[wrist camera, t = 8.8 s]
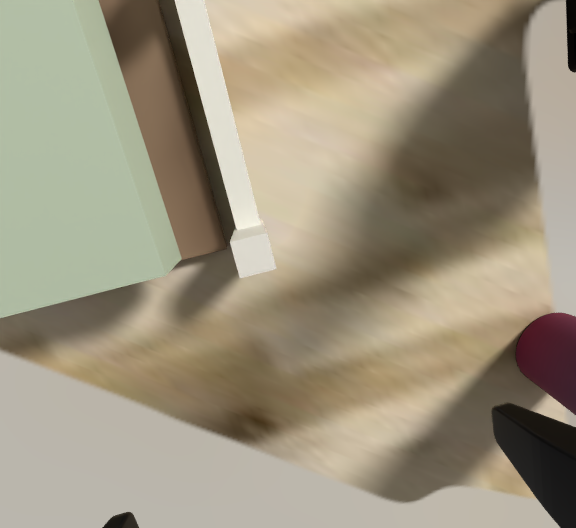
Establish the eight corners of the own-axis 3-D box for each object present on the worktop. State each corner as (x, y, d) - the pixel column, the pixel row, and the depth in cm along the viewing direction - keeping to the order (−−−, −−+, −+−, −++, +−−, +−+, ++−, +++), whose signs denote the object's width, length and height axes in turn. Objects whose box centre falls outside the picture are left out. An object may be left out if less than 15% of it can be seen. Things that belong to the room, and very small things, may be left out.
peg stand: (153, -18, 16) (123, -82, 12) (227, 245, 19) (222, 260, 15) (-63, 26, 16) (-166, -26, 12) (48, 290, 19) (-4, 317, 15)
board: (181, 258, 15) (165, 275, 12) (34, 296, 15) (-18, 322, 12) (80, -57, 12) (28, -131, 9) (-105, -19, 12) (-218, -85, 9)
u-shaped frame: (197, -39, 16) (168, -166, 10) (268, 244, 20) (276, 268, 14) (165, -33, 16) (119, -156, 10) (242, 250, 20) (240, 278, 14)
